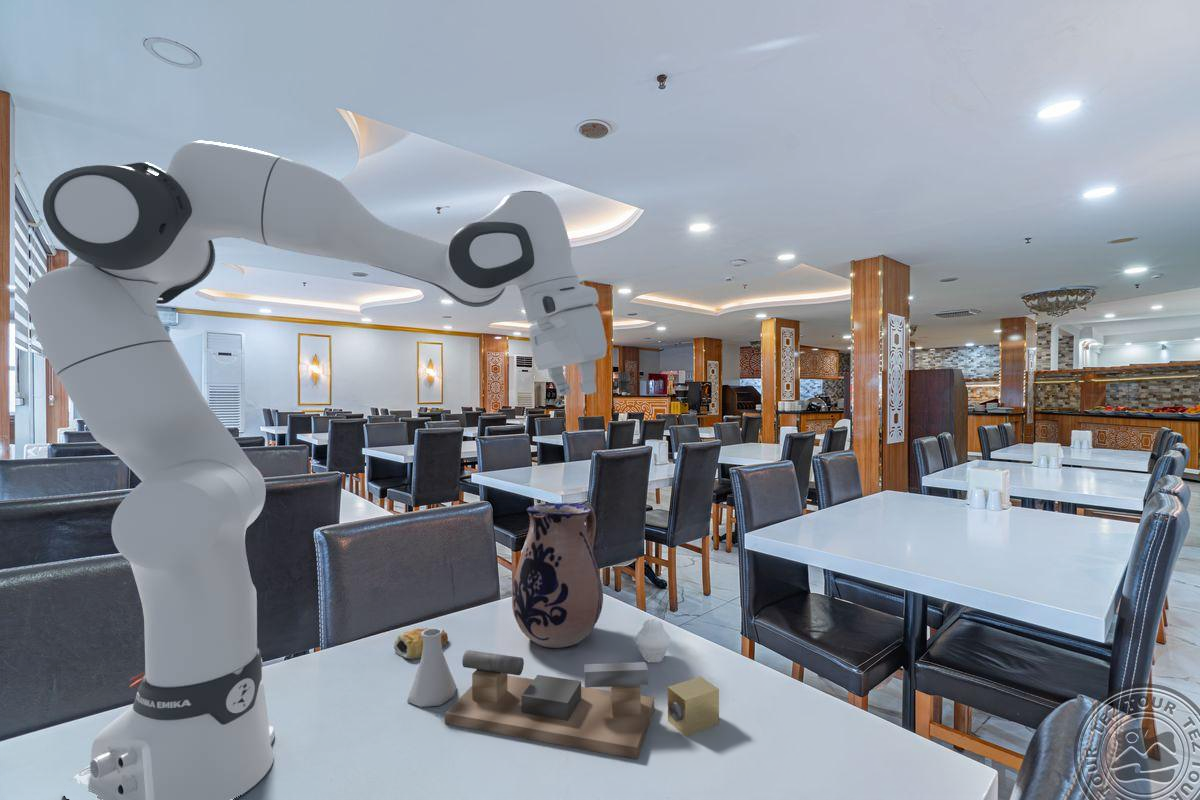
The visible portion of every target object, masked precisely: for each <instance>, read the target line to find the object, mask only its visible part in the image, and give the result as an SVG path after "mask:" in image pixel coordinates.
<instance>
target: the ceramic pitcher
mask: <svg viewBox="0 0 1200 800" xmlns="http://www.w3.org/2000/svg"><path fill="white" fill-rule="evenodd" d="M526 512H527V514H528V516H529V528H528V532H527V535H526V538H525V541H524V544H523V547H522V551H521V553H520V557H519V560H518V563H517V567H516V571H515V576H514V579H513V586H512V592H511V593H512V594H511V607H512V612H513V616H514V619H515V621H516V623H517V625H518V627H519V629H520V630H521V632H522V633H523V634H524V635H525V636H526V638H528V639H530V640H531V641H532V642H533V643H535V644H537V645H539V646H543V647H546V648H550V649H553V648H554V649H556V648H557V649H561V648H567V647H571V646H574V645H578V644H579V643H580V642H582V641H583V640H584V639H585V638H586V637H588V636H589V634H591V632H592V631H593V630H594V628H595V626H596V624H597V622H598V620H599V618H600V616H601V614H602V610H603V603H604V589H603V585H602V580H601V577H600V572H599V569H598V565H597V562H596V559H595V556H594V553H593V550H594V545H595V539H596V531H597V517H596V513H595V510H594V508H593V506H592V504H590V503H589V502H588V501H580V502H550V503H542V504H537V505H532V506H529V507H527V508H526Z"/></svg>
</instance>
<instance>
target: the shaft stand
mask: <svg viewBox="0 0 1200 800" xmlns="http://www.w3.org/2000/svg"><path fill="white" fill-rule="evenodd" d="M646 662H647V661H640V662H637V661H636V662H617V663H615V662H613V663H588V664H586V663H585V664H584V665H583V669H584V671H583V679H584V680H583V681H584V682H583V683H584V686H582V681H581V680H575V679H571V678H570V679H569V678H562V677H555V676H549V675H542V674H537V675H536V676H535V677H534V678H529V677H522V676H521V675H522V673H523V670H524V664H525V661H524V658H523V657H519V656H513V655H505V654H499V653H490V652H483V651H477V650H472V649H471V650H470V649H468V650H465V652H464V654H463V656H462V662H461V663H462V667H463V668H467V669H474V671H473V673H472V675H471V679H472V680H471V681H472V682H471V683H472V684H471V686H470V687H469V688H468V689H467V690H466V691H465V692H464V693H463V695H461V696H460V697H459V698H458V699H457V700H456V702H454V703H453V704H452V705H451V706H450V708H448V709H447V710H446V711H445V712H444V724H445V725H451V726H455V727H462V728H467V729H472V730H478V731H483V732H489V733H493V734H500V735H505V736H510V737H511V736H512V737H517V738H522V739H526V740H531V741H536V742H537V741H538V742H542V743H548V744H553V745H559V746H565V747H569V748H575V749H580V750H586V751H592V752H597V753H602V754H607V755H612V756H618V757H625V758H629V759H635V760H637V759H638V758H639V754H640V751H641V749H642V746H643V743H644V741H645V737H646V734H647V731H648V729H649V725H650V722H651V719H652V716H653V713H654V710H655V697H651V696H647V695H646V696H645V695H642V692H641V689H642V688H641V686H648V685H649V669H648V665H647V663H646ZM513 675H514V676H513ZM604 687H606V688H607V687H608V688H610V689H609V690H607V689H598V688H604Z"/></svg>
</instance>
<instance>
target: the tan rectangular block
mask: <svg viewBox="0 0 1200 800" xmlns="http://www.w3.org/2000/svg"><path fill="white" fill-rule="evenodd" d="M667 722H668V723H670V724H671V725H672V726H673V727H674V728H675V729H676V730H677V731H678V732H680V733H681V734H682V735H683V736H684V737H687V736H690V735H692V734H695V733H697V732H700V731H703V730H705V729H708V728H711V727H713V726H715V725H716V726H717V725H719V724H720V689H719V688H718V687H717V686H715V685H714V684H712V683H711V682H710V681H708V680H706V679H705V678H704V677H702V676H697V677H695V678H691V679H688V680H684V681H682V682H679V683H676V684H673V685H669V686H667Z"/></svg>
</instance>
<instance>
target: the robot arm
mask: <svg viewBox="0 0 1200 800" xmlns="http://www.w3.org/2000/svg"><path fill="white" fill-rule="evenodd" d="M149 169H150V170H149ZM151 170H153V171H151ZM42 212H43V216H44V219H45V222H46V224H47V226H48V228H49V230H50V232H51V233H52V234H53V235H54V237H55V238H56V240H57V241H59V243H60V244H61V245H62V246H63V247H64V248H66V249H67V251H69V252H70V253H71V254H73V255H74V256H75V257H76V258H75V259H74V260H73V261H72V262H70V263H69V264H68V266H63V267H60V268H56V269H53V270H50V271H49V272H46V273H44V274H42V275H41V276H39V277H38V278H37V279H35V281H33V282H32V284H31V285H30V286H29V288H28V289H27V292H26V298H25V299H26V305H27V308H28V313H29V315H30V319H31V322H32V325H33V328H34V330H35V334H36V336H37V338H38V341H39V343H40V345H41V348H42V350H43V352H44V354H45V357H46V358H47V360H48V362H49V364H50V366H51V368H52V370H53V372H54V373H55V375H56V377H57V378H58V380H59V381H60V383H61V385H62V387H63V388H64V390H65V392H66V394H67V395H68V397H69V398H70V401H71V402H72V404H73V405H74V407H75V408H76V411H77V412H78V415H79V416H80V417H81V419H82V420H83V422H84V424H85V425H86V428H87V429H88V430H89V432H90V434H91V436H92V437H93V439H94V440H95V441H96V442H97V443H99V444H100V445H101V446H102V447H104V448H105V449H107V450H109V451H111V453H113V454H114V455H115V456H117V458H119V460H120V461H122V462H123V463H124V464H125V465H126V466H127V467H128V468H129V469H130V470H131V471H132V472H133V473H134V474H135V476H136V477H137V478H138V479H139V480H140V481H141V482H139V483H138V484H137V485H136V486H135V487H134V488H133V489H132V490H131V491H130V492H129V493H128V494H127V495H126V496H125V497H124V499H123V500H122V501H121V502H120V503H119V505H118V506H117V508H116V510H115V512H114V514H113V517H112V521H111V531H110V532H111V537H112V541H113V544H114V546H115V547H116V549H117V552H119V553H120V555H121V556H122V557H123V558H124V559H126V560H127V561H128V562H129V563H130V564H129V565H130V566H131V567H130V568H131V570H132V573H133V577H134V580H135V583H136V587H137V591H138V594H139V598H140V601H141V606H142V614H143V621H144V622H143V625H144V664H145V665H144V667H145V669H144V672H142V673H140V674H138V675H135V676H133V677H130V678H129V681H134V680H135V682H133V683H132V684H129V688H131V689H132V688H135V687H136V686H137V687H138V688H137V691H136V695H135V698H134V702H133V704H132V705H131V706H130V707H128V708H127V709H126V710H125V711H124V712H122V713H121V714H120V715H119V716H118V717H116V718H115V719H114V720H112V721H111V722H110V723H109V724H107V725H106V726H104V727H103V729H102V730H101V731H100V732H98V734H97V735H96V736H95V738H94V741H93V743H92V746H91V751H90V752H91V754H90V762H89V763H90V764H88V766H86V767H84V768H83V769H82V770H80V771H79V772H78V773H76V775H74V776H73V777H74V778H76V779H77V781H78V782H77V783H79V784H80V781H81V783H83V784H86V785H87V787H88V789H89V790H88V791H89V792H92V793H94V794H96V795H98V796H97V798H98V799H100V800H102V799H103V800H230V799H233V798H235V797H237V798H239V797H240V795H241V796H242V795H243V794H245V793H247V792H248V791H250V790H251V789H252V788H254V786H256V785H257V784H258V783H259V782H260V781H261V780H263V778H264V777H265V776H266V774H267V773H268V771H269V770H271V767H272V764H273V763H274V751H273V748H272V743H273V741H274V739H275V736H276V733H275V728H274V726H272V725H269V724H270V723H269V717H268V707H267V700H266V694H265V692H266V691H265V686H264V683H263V682H262V678H263V675H262V674H263V672H262V671H263V668H262V667H263V658H262V652H261V649H260V648H259V647H258V613H257V612H258V609H257V608H258V600H257V589H256V587H255V585H254V584H253V581H252V576H251V573H250V567H249V563H248V557H247V549H246V533H247V532H246V531H247V528H248V527H249V526H250V525H252V524H253V523H254V522H255V520H256V519H257V518H258V517H259V516H260V515H261V512H262V510H263V508H264V505H265V502H266V495H267V488H266V487H267V486H266V481H265V479H264V476H263V475H262V472H260V470H259V469H258V468H257V467H256V466H255V465H254V464H253V463H252V461H251V460H250V459H249V457H248V456H247V455H246V453H245V452H244V450H243V449H242V447H241V446H240V444H239V443H238V442H237V440H236V439H235V438H234V437H233V435H232V434H231V432H230V431H229V430H228V429H227V427H226V426H225V424H224V423H223V422H222V421H221V420H220V418H219V417H218V416H217V415H216V413H215V412H214V411H213V409H212V407H211V406H210V404H209V403H208V402H207V400H206V399H205V396H204V395H203V394H202V392H201V390H200V388H199V386H198V384H197V383H196V381H195V380H194V378H193V376H192V374H191V372H190V371H189V368H188V366H187V364H186V363H185V361H184V359H183V358H182V355H181V354H180V352H179V351H178V349H177V347H176V345H175V344H174V341H173V339H172V338H171V336H170V335H169V333H168V331H167V329H166V327H165V326H164V323H163V322H162V320H161V318H160V316H159V312H158V309H157V305H164V304H165V305H166V304H167V303H170V302H171V301H173V300H174V299H176V298H177V297H178V296H180V295H182V293H184V292H186V291H188V290H189V289H192V288H194V287H196V285H199V284H200V283H202V282H203V281H205V279H206V278H207V277H209V275H210V273H211V272H212V270H213V268H214V266H215V264H216V263H215V262H216V249H215V245H214V242H213V240H214V239H221V238H233V239H234V238H235V239H243V240H244V239H245V240H247V241H251V242H254V243H258V244H261V245H265V246H269V247H271V248H276V249H280V250H284V251H289V252H295V253H299V254H304V255H309V256H314V257H315V256H316V257H321V258H328V259H335V260H339V261H340V260H341V261H347V262H351V263H352V262H353V263H359V264H362V265H363V264H364V265H367V266H372V267H375V268H379V269H381V270H385V271H389V272H392V273H396V274H398V275H402V276H405V277H408V278H412V279H415V280H419V281H422V282H425V283H428V284H430V285H433V286H435V287H437V288H439V290H442V291H443V292H444V293H445V294H447V295H448V296H449V297H451V298H452V299H454V300H455V301H457V302H458V303H460V304H462V305H463V306H468V307H471V308H472V307H473V308H480V307H481V308H482V307H486V306H489V305H491V304H493V303H494V302H496V301H497V300H498V299H500V297H501V296H502V295H503V294H504V292H505V289H506V287H508V286H514V285H515V286H517V287H518V289H519V292H520V295H521V296H520V297H521V299H522V304H523V306H524V307H523V308H524V313H525V316H526V319H527V322H528V323H531V325H530V326H529V330H528V334H529V342H530V347H531V352H532V353H531V354H532V356H533V361H534V365H535V366H536V368H537V370H538V371H542V370H543V371H545V370H547V372H548V375H549V377H550V379H551V381H552V383H553V385H554V386H555V389H556V392H557V395H558V396H559V397H561V396H563V397H564V396H567V395H570V394H571V391H572V390H571V387H570V383H569V382H567V379H566V376H565V374H564V372H565V370H564V367H565V366H571V365H572V366H573V365H577V370H578V372H580V383H579V387H580V390H581V394H583V395H591V394H595V393H596V392H598V391H597V386H596V385H597V384H596V381H595V380H596V371H597V369H596V363H595V360H596V361H597V360H600V359H604V358H605V357H606V355H607V349H608V344H607V343H608V342H607V338H606V332H605V327H604V323H603V319H602V316H601V312H600V310H599V308H598V307H597V306H596V305H597V304H598V303H599V294H598V291H597V289H596V288H595V287H592V286H588V285H585V284H582V283H580V280H579V276H578V273H577V271H576V269H575V268H574V265H573V262H572V256H571V255H572V248H571V244H570V239H569V236H568V233H567V229H566V225H565V222H564V219H563V216H562V214H561V213H562V212H561V211H560V209H559V206H558V205H557V203H556V201H555V200H554V199H553V198H552V197H551V196H550V195H548V194H546V193H543V192H542V191H536V190H520V191H517V192H513V193H510V194H508V195H506V196H505V197H504V198H503V199H502V200H501V202H500V204H498V206H496V207H495V208H494V209H493V210H492V211H490V212H489V213H487V214H486V215H484V216H483V217H481V218H479V219H477V220H475V221H473V222H471V223H467V224H465V225H464V226H462V227H460V228H459V229H458V230H457V231H455V232H456V233H454V235H453V236H452V238H451V240H450V243H442V242H439V241H435V240H431V239H428V238H427V237H423V236H421V235H420V236H419V235H418V234H415V233H414V234H413V233H411V232H408V231H405V230H402V229H399V228H396V227H394V226H392V225H389V224H387V223H385V222H383V221H382V220H380V219H378V217H376V216H375V215H374V214H372V213H371V212H370V211H369V210H368V209H367V208H366V207H365V206H364V205H363V204H362V203H361V202H360V201H359V200H358V199H357V198H356V197H355V195H354V194H353V193H352V192H351V191H350V190H349V189H348V188H347V187H346V186H345V184H343V183H342V182H341V181H340V180H338V179H337V178H334V177H333V176H330V175H329V174H326V173H325V172H323V171H321V170H319V169H317V168H314V167H313V166H310V165H308V164H305V163H301V162H299V161H295V160H293V159H290V158H286V157H283V156H279V155H275V154H272V153H269V152H265V151H261V150H257V149H253V148H248V147H244V146H239V145H233V144H227V143H221V142H214V141H206V140H196V141H189V142H187V143H185V144H183V145H182V146H180V147H179V148H178V149H177V150H176V151H175V152H174V154H173V156H172V158H171V159H170V162H169V165H168V167H167V171H165V170H163V169H162V168H160V167H159V166H157V165H154V164H152V163H149V162H134V163H128V164H122V165H111V164H108V165H107V164H104V165H103V164H99V165H98V164H95V165H87V166H86V165H85V166H80V167H76V168H72V169H70V170H67V171H65V172H63V173H62V174H60V175H59V176H57V177H56V178H54V179H53V180H52V182H50V184H49V185H48V186H47V188H46V190H45V192H44V195H43V200H42ZM136 679H137V680H136ZM86 771H91V772H90V773H89V774H86V775H84V774H83V773H84V772H86ZM80 773H82V775H84V776H79V774H80ZM79 780H80V781H79ZM84 786H85V785H84ZM90 790H91V791H90ZM238 796H239V797H238Z"/></svg>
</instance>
